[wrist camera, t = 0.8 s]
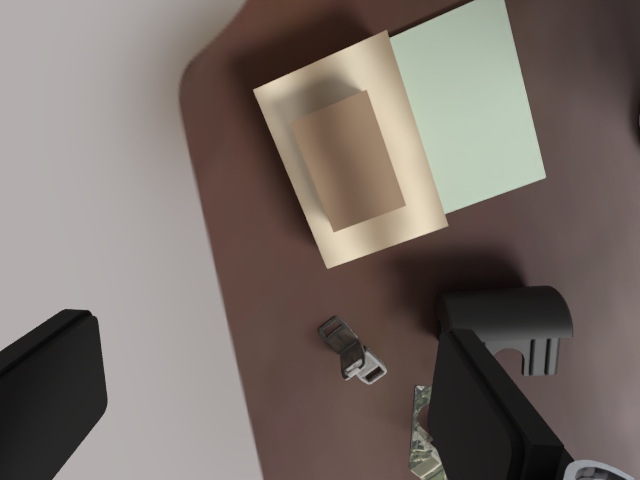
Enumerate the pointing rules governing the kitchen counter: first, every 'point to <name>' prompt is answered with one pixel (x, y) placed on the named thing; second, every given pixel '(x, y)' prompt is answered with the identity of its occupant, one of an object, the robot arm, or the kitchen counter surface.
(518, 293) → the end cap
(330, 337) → the strap clip
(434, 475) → the eiffel tower figurine
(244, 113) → the kitchen counter surface
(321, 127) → the brown box
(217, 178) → the kitchen counter surface
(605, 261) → the kitchen counter surface
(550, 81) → the kitchen counter surface
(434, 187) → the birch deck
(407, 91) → the mat
